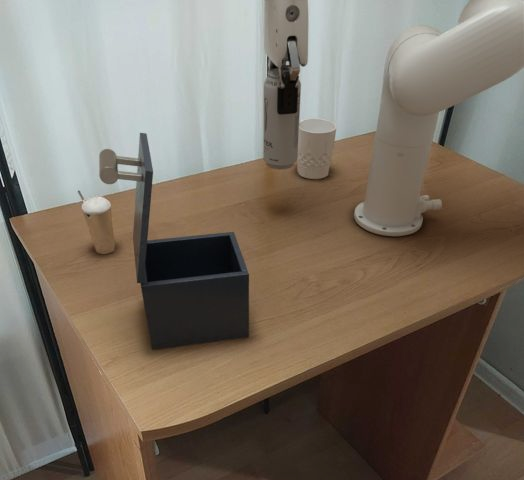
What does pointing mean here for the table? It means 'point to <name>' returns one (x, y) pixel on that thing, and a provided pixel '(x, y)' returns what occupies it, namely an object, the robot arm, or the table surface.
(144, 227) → the lid
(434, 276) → the table surface
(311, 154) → the white cup
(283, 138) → the energy drink can
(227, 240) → the bin
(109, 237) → the milkshake
